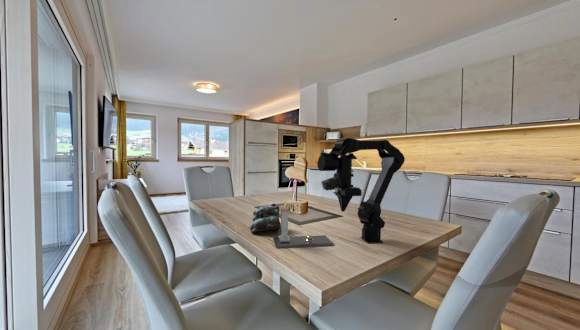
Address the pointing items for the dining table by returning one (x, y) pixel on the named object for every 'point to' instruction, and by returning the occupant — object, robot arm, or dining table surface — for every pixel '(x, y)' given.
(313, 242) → the bolt plate
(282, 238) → the post
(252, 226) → the dark grey lumpy block
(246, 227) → the dining table surface
